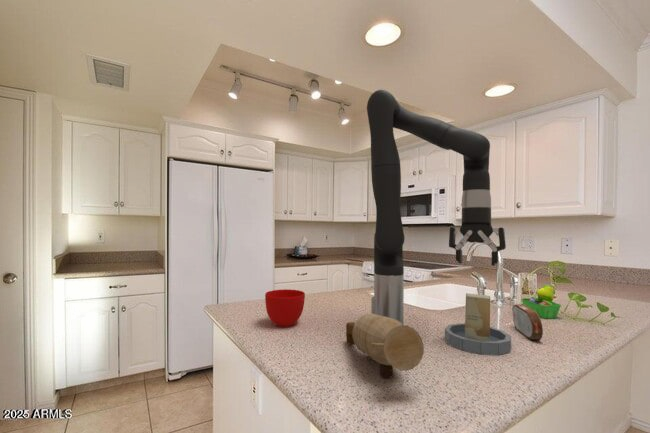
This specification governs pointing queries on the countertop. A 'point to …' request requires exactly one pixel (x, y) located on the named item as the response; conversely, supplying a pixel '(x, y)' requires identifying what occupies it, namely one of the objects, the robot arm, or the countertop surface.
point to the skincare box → (477, 317)
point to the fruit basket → (543, 303)
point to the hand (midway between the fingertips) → (476, 264)
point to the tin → (527, 321)
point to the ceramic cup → (284, 306)
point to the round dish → (495, 346)
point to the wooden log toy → (386, 342)
